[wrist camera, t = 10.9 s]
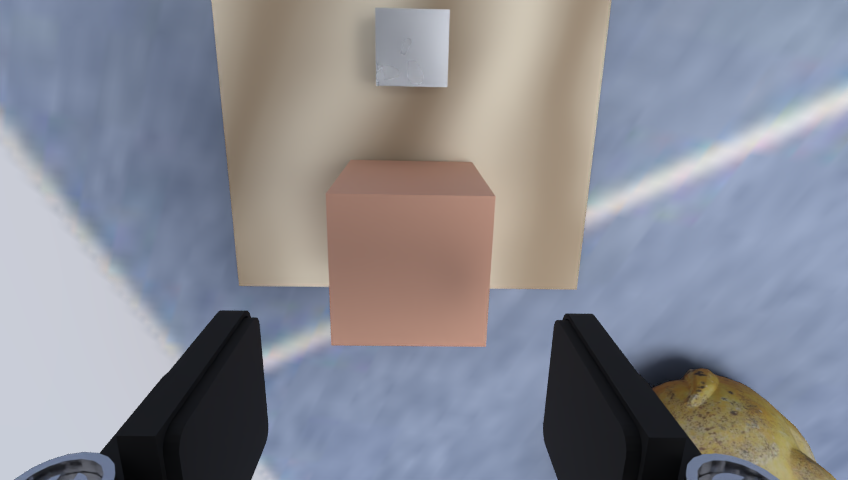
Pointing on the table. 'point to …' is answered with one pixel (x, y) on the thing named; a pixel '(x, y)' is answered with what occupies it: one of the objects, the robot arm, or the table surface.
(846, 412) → the table surface
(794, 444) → the decorative figurine
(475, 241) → the salmon pink toy brick
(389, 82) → the silver gray cube
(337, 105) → the board
